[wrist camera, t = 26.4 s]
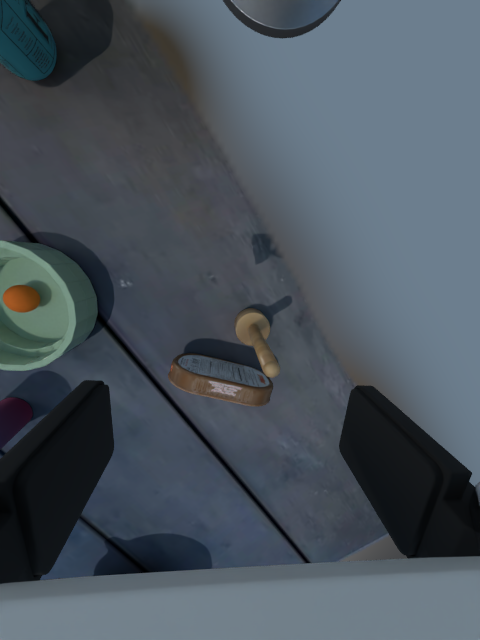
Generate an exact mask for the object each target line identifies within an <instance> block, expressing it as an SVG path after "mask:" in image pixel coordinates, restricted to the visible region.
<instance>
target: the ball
mask: <svg viewBox="0 0 480 640" xmlns="http://www.w3.org/2000/svg"><path fill="white" fill-rule="evenodd" d="M3 302H4V304H5V305H6V306H7V307H8V308H9V309H11V310H13V311H15V312H21V313H25V312H30V311H32V310H34V309H36V308H37V307H38V305H39V303H40V296H39V294H38V292H37V291H36V290H35V289H33V288H31V287H29V286H26V285H15V286H12V287H10V288H8V289H7V290H6V291H5V292H4V294H3Z"/></svg>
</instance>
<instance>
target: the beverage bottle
mask: <svg viewBox="0 0 480 640" xmlns="http://www.w3.org/2000/svg"><path fill="white" fill-rule="evenodd" d="M31 3H32V2H30V1H29V0H0V63H2V64H3V65H4V66H5V68H7V71H9V70H10V73H11V72H12V73H14V74H16V75H17V76H18V77H21V78H24V79H27V80H32V81H37V80H42V79H44V78H46V77H47V76H48V75H49V74H50V73H51V72H52V71H53V69H54V67H55V64H56V58H57V51H56V45H55V42H54V39H53V37H52V36H53V35H52V34H51V33H52V32H50V30H49V28H48V26H47V25H46V22H44V21H45V20H43V18H42V16H40V14H39V12H38V11H37V9H35V7H34V6H33V5H32V4H31ZM8 69H9V70H8Z"/></svg>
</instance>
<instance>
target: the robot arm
mask: <svg viewBox="0 0 480 640" xmlns="http://www.w3.org/2000/svg"><path fill="white" fill-rule="evenodd" d="M339 448H340V452H341V455H342V456H343V458H344V460H345V461H346V463H347V465H348V466H349V468H350V470H351V471H352V473H353V475H354V476H355V478H356V480H357V481H358V483H359V485H360V486H361V488H362V490H363V491H364V493H365V495H366V496H367V498H368V500H369V501H370V503H371V505H372V506H373V508H374V510H375V511H376V513H377V515H378V516H379V518H380V520H381V521H382V523H383V525H384V526H385V528H386V530H387V531H388V533H389V535H390V536H391V538H392V540H393V541H394V543H395V545H396V546H397V548H398V549H399V551H400V552H401V553H402V554H404V555H406V556H407V558H408V559H389V560H369V561H348V562H327V563H308V564H290V565H271V566H253V567H235V568H218V569H200V570H184V571H168V572H151V573H135V574H119V575H103V576H87V577H75V578H63V579H51V580H40V578H41V576H42V575H46V574H47V573H49V571H50V570H51V569H52V567H53V565H54V564H55V562H56V560H57V558H58V556H59V554H60V552H61V550H62V549H63V547H64V545H65V543H66V541H67V539H68V537H69V535H70V534H71V532H72V530H73V528H74V526H75V524H76V522H77V520H78V519H79V517H80V515H81V513H82V511H83V509H84V507H85V505H86V503H87V502H88V500H89V498H90V496H91V494H92V492H93V490H94V488H95V487H96V485H97V483H98V481H99V479H100V477H101V475H102V473H103V472H104V470H105V468H106V466H107V464H108V462H109V460H110V458H111V456H112V454H113V450H114V439H113V428H112V416H111V405H110V394H109V387H108V385H104V382H103V381H91V380H86V381H83V382H82V383H81V384H80V385H79V386H78V387H76V388H75V389H74V390H73V391H72V392H71V393H70V394H69V395H68V396H67V397H66V398H65V399H64V400H63V401H62V402H60V403H59V404H58V405H57V406H56V407H55V408H54V409H53V410H52V411H51V412H50V413H49V414H48V415H47V416H46V417H45V418H43V419H42V420H41V421H40V422H39V423H38V424H37V425H36V426H35V427H34V428H33V429H32V430H31V431H30V432H29V433H27V434H26V435H25V436H24V437H23V438H22V439H21V440H20V441H19V442H18V443H17V444H16V445H15V446H14V447H13V448H12V449H10V450H9V451H8V452H7V453H6V454H5V455H4V456H3V457H2V458H1V459H0V640H480V482H479V483H478V484H477V485H476V487H474V486H473V485H472V484H471V483H470V482H469V480H470V477H471V475H472V472H470V471H469V470H468V469H467V468H466V467H465V466H464V465H462V464H461V463H460V462H459V461H458V460H457V459H456V458H454V457H453V456H452V455H451V454H450V453H449V452H448V451H446V450H445V449H444V448H443V447H442V446H441V445H439V444H438V443H437V442H436V441H435V440H434V439H433V438H432V437H430V436H429V435H428V434H427V433H426V432H425V431H424V430H422V429H421V428H420V427H419V426H418V425H417V424H415V423H414V422H413V421H412V420H411V419H410V418H409V417H407V416H406V415H405V414H404V413H403V412H402V411H401V410H400V409H398V408H397V407H396V406H395V405H394V404H393V403H392V402H390V401H389V400H388V399H387V398H386V397H385V396H384V395H382V394H381V393H380V392H379V391H378V390H376V389H375V388H374V387H373V386H356V387H355V388H354V389H353V390H351V393H350V397H349V402H348V406H347V411H346V416H345V420H344V425H343V429H342V434H341V438H340V443H339Z"/></svg>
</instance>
